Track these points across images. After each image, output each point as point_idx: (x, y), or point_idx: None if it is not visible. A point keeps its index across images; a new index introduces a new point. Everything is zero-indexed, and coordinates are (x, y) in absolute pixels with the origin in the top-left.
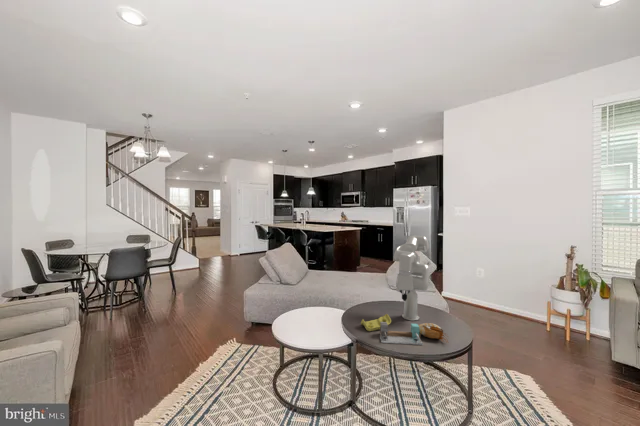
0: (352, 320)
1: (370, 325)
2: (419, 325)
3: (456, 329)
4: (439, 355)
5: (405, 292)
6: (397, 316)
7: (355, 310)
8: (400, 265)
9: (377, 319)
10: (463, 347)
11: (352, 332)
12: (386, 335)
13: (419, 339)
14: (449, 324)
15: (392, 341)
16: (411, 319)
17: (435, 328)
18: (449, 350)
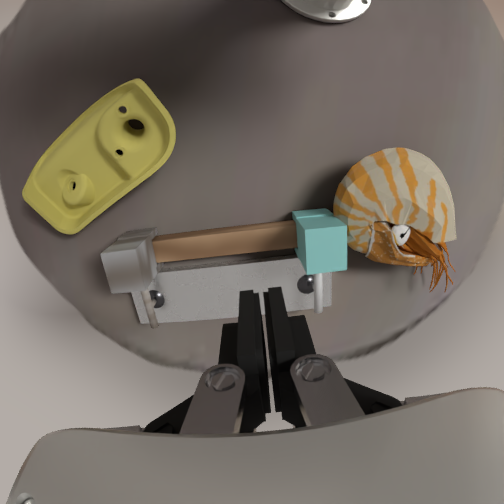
0: (10, 126)
1: (69, 203)
2: (358, 205)
3: (496, 120)
4: (364, 355)
5: (299, 403)
6: None
7: (31, 9)
8: None
9: (94, 127)
10: (466, 276)
11: (28, 252)
12: (155, 326)
13: (325, 274)
14: (483, 70)
15: (188, 320)
16: (325, 19)
17: (429, 249)
18: (414, 312)
